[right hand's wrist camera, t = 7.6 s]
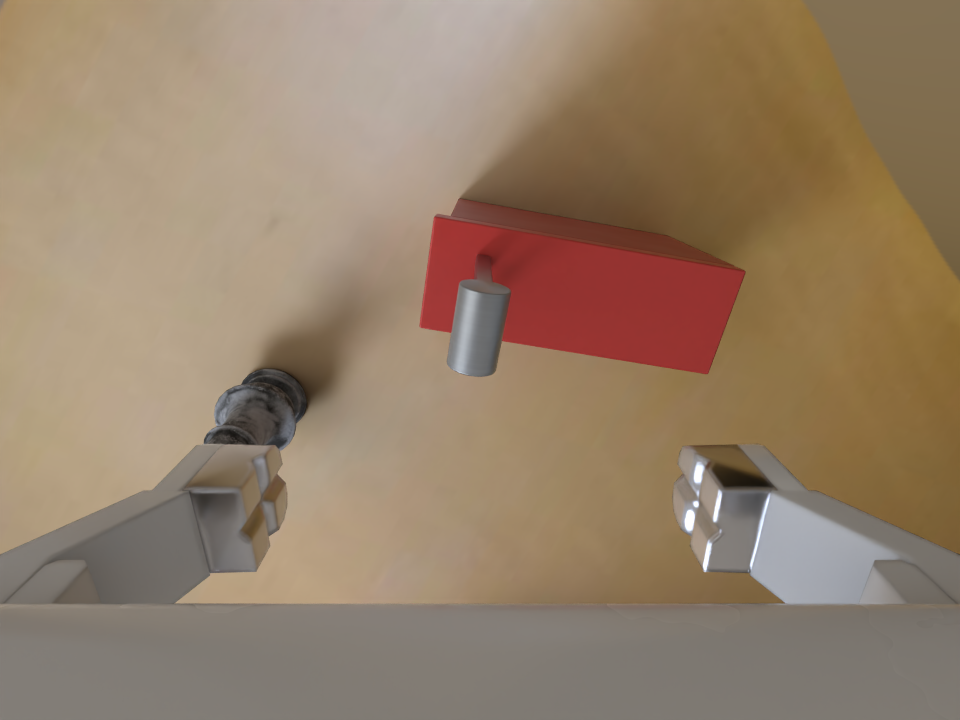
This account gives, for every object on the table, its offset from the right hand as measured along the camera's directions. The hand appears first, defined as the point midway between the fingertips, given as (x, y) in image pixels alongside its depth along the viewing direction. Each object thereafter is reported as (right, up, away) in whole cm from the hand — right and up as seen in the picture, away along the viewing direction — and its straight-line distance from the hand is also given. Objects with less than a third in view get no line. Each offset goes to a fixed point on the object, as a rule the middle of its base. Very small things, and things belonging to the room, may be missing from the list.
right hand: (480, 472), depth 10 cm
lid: (+5, +6, +17) cm, 18 cm away
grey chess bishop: (-16, -1, +30) cm, 35 cm away
